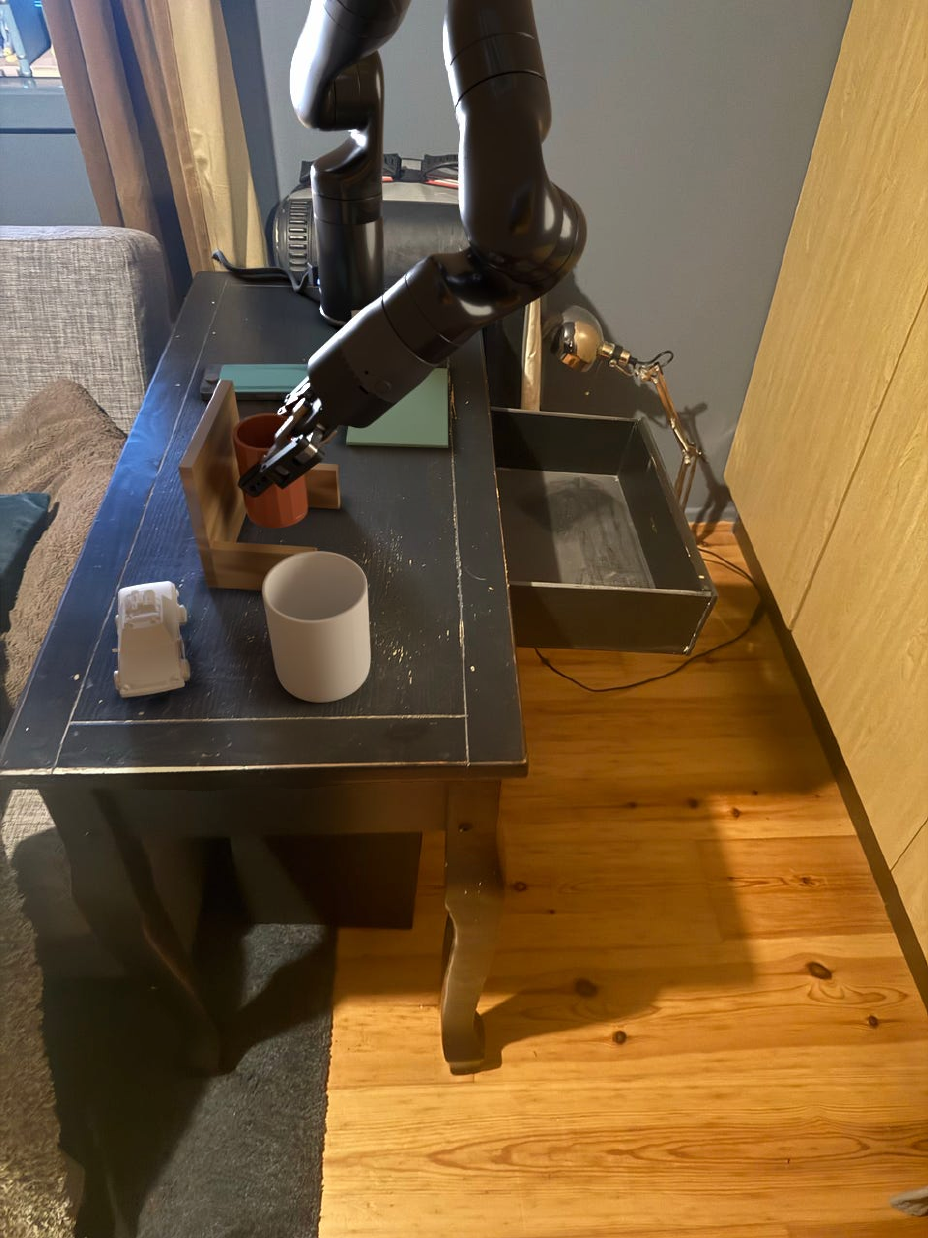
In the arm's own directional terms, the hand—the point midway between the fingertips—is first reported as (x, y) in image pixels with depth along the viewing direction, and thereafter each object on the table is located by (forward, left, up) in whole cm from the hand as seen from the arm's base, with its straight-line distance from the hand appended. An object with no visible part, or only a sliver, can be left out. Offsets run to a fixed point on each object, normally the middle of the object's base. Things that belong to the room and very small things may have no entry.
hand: (254, 467), depth 77 cm
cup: (+1, +1, -5) cm, 5 cm away
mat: (-18, +23, -9) cm, 31 cm away
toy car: (+11, -14, -9) cm, 20 cm away
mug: (+17, -1, -9) cm, 19 cm away
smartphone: (-29, +9, -9) cm, 32 cm away
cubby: (+1, +1, -9) cm, 9 cm away
